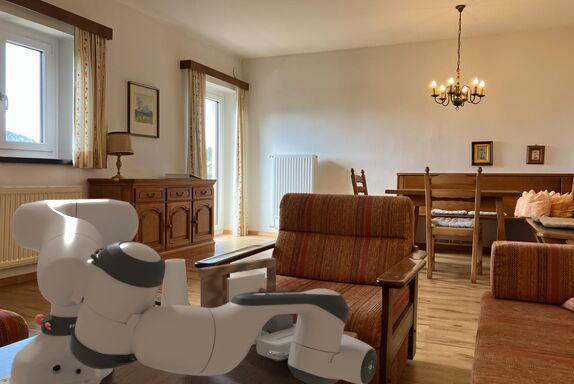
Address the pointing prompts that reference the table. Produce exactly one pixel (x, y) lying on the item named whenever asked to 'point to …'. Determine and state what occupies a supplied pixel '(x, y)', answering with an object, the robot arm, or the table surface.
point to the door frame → (216, 279)
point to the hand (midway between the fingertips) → (275, 330)
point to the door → (246, 287)
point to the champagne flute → (175, 283)
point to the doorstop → (278, 325)
